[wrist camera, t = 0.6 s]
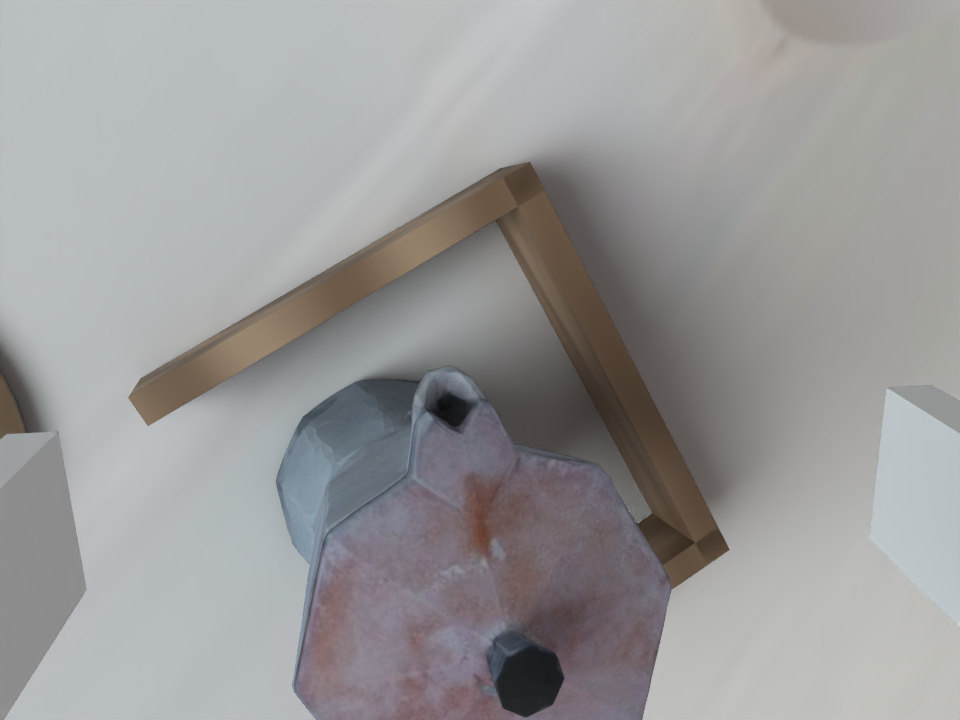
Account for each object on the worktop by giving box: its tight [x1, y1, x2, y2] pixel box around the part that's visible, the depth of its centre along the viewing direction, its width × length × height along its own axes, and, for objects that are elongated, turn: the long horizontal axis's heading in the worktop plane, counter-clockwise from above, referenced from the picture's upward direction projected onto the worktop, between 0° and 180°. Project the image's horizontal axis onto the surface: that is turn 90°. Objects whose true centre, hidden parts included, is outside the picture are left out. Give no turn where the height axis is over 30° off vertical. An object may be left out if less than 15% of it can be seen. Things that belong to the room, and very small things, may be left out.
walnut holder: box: [128, 162, 729, 590], centre depth 36 cm, size 17×18×4 cm
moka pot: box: [276, 366, 671, 720], centre depth 28 cm, size 10×15×20 cm, turn 14°
